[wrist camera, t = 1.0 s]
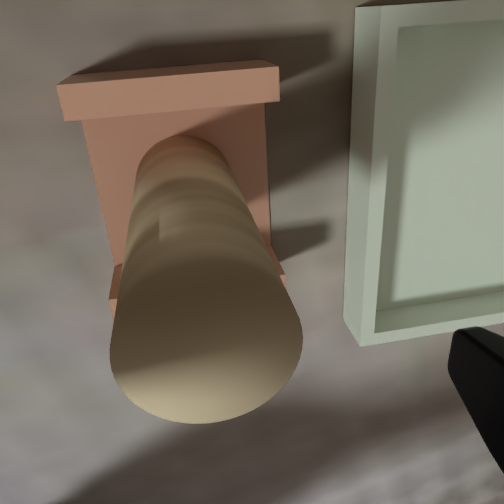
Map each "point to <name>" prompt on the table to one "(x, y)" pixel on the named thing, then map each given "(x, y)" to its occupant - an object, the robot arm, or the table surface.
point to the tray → (426, 170)
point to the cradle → (172, 131)
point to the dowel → (198, 294)
